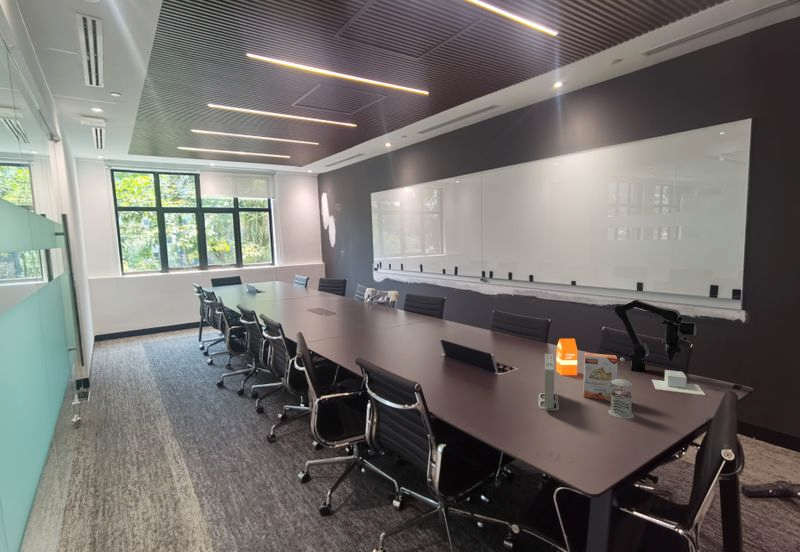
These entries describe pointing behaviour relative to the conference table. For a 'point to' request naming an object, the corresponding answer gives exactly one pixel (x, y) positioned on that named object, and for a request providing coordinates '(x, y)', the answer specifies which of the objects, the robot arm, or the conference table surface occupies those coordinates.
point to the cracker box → (599, 375)
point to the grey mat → (688, 390)
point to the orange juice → (567, 357)
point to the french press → (619, 409)
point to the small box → (675, 379)
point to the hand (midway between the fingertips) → (670, 360)
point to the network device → (549, 386)
